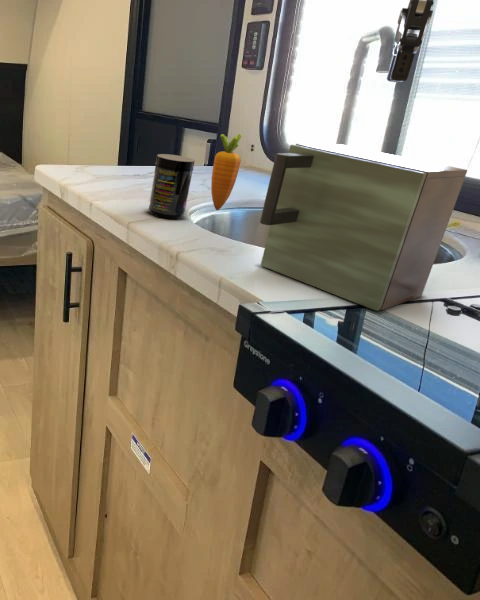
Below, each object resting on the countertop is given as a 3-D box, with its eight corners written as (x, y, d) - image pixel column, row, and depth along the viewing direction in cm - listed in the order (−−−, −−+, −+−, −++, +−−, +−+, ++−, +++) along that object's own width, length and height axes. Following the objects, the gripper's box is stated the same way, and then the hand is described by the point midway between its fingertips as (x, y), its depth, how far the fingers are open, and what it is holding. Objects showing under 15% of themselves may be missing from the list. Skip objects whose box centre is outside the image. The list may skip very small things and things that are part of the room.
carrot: (202, 209, 117) (218, 131, 112) (206, 205, 122) (222, 130, 116) (227, 214, 116) (244, 135, 110) (231, 210, 120) (248, 134, 115)
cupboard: (381, 310, 76) (428, 171, 69) (265, 265, 88) (295, 143, 81) (421, 296, 83) (467, 169, 76) (309, 256, 95) (340, 144, 89)
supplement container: (184, 222, 106) (196, 163, 102) (147, 216, 107) (156, 157, 103) (183, 213, 113) (193, 157, 109) (147, 208, 113) (156, 152, 109)
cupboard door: (349, 320, 71) (396, 174, 64) (231, 271, 83) (260, 144, 76) (380, 309, 75) (427, 173, 69) (264, 264, 88) (294, 144, 81)
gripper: (472, -52, 75) (429, 84, 81) (454, -32, 87) (418, 85, 93) (407, -56, 77) (369, 77, 83) (399, -36, 90) (367, 79, 96)
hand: (395, 81), depth 88 cm, fingers open, 8 cm apart
